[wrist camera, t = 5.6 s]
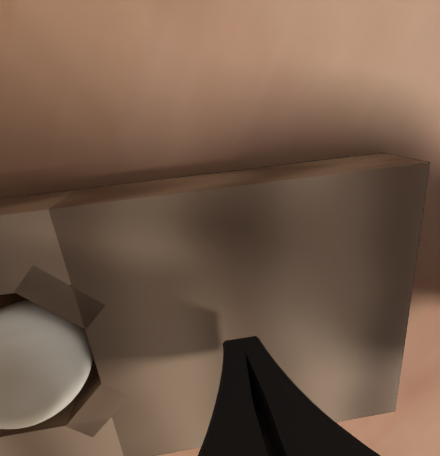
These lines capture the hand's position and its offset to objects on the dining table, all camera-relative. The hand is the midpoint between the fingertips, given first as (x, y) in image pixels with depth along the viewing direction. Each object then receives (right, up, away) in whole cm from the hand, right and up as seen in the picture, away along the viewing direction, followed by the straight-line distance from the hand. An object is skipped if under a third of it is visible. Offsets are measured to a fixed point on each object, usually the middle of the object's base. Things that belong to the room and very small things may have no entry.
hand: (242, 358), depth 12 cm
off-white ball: (-9, -1, +1) cm, 9 cm away
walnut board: (-4, +1, +4) cm, 6 cm away
